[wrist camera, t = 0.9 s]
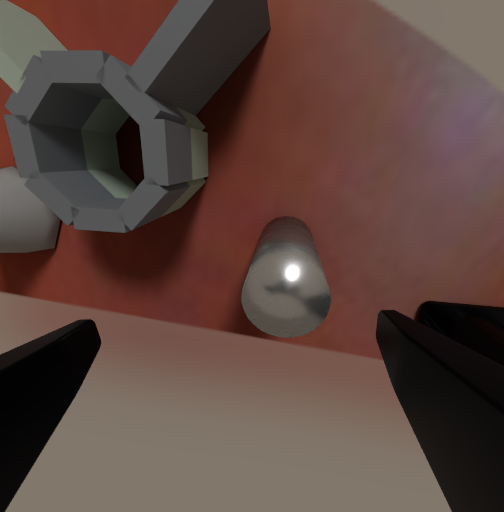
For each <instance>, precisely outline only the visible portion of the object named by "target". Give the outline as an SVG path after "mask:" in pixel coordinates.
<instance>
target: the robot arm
mask: <svg viewBox="0 0 504 512" xmlns="http://www.w3.org/2000/svg"><path fill="white" fill-rule="evenodd" d="M429 307H432V308H431V309H429V310H428V308H429ZM376 339H377V343H378V346H379V348H380V351H381V354H382V357H383V360H384V363H385V366H386V369H387V371H388V374H389V377H390V380H391V383H392V385H393V388H394V390H395V393H396V395H397V397H398V399H399V402H400V404H401V406H402V408H403V410H404V412H405V414H406V416H407V418H408V420H409V422H410V424H411V427H412V429H413V431H414V433H415V435H416V437H417V439H418V441H419V443H420V446H421V448H422V450H423V452H424V454H425V456H426V458H427V460H428V462H429V465H430V467H431V469H432V471H433V473H434V475H435V477H436V479H437V481H438V483H439V486H440V487H441V490H442V491H443V494H444V496H445V498H446V500H447V502H448V504H449V507H450V509H451V511H452V512H504V308H503V307H492V306H481V305H469V304H458V303H447V302H436V301H427V302H425V303H424V304H423V305H422V308H421V311H420V314H419V318H418V321H415V320H413V319H411V318H409V317H407V316H405V315H403V314H401V313H399V312H397V311H395V310H381V311H380V312H379V313H378V320H377V329H376ZM100 346H101V339H100V336H99V333H98V330H97V327H96V324H95V322H94V321H93V320H91V319H89V320H78V321H75V322H73V323H71V324H68V325H66V326H64V327H62V328H59V329H57V330H55V331H53V332H50V333H48V334H46V335H44V336H41V337H39V338H37V339H35V340H32V341H30V342H28V343H26V344H23V345H21V346H19V347H17V348H14V349H12V350H10V351H8V352H5V353H3V354H1V355H0V512H5V511H6V509H7V507H8V506H9V504H10V502H11V501H12V499H13V498H14V496H15V494H16V493H17V491H18V489H19V488H20V486H21V484H22V483H23V481H24V480H25V478H26V476H27V475H28V473H29V471H30V470H31V468H32V466H33V465H34V463H35V462H36V460H37V458H38V457H39V455H40V453H41V452H42V450H43V448H44V447H45V445H46V443H47V442H48V440H49V439H50V437H51V435H52V434H53V432H54V430H55V429H56V427H57V426H58V424H59V422H60V421H61V419H62V417H63V415H64V414H65V412H66V411H67V409H68V407H69V406H70V404H71V403H72V401H73V399H74V398H75V396H76V394H77V392H78V391H79V389H80V387H81V385H82V383H83V381H84V379H85V377H86V375H87V373H88V371H89V369H90V367H91V365H92V363H93V361H94V359H95V357H96V355H97V353H98V351H99V349H100Z"/></svg>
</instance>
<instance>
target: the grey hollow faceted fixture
mask: <svg viewBox="0 0 504 512" xmlns="http://www.w3.org/2000/svg"><path fill="white" fill-rule="evenodd" d="M270 29H271V27H270V19H269V12H268V4H267V0H179V1H178V2H177V4H176V5H175V7H174V8H173V9H172V11H171V12H170V14H169V15H168V16H167V18H166V19H165V21H164V22H163V24H162V25H161V26H160V28H159V29H158V31H157V32H156V33H155V35H154V36H153V38H152V39H151V41H150V42H149V43H148V45H147V46H146V48H145V49H144V50H143V52H142V53H141V55H140V56H139V58H138V59H137V60H136V62H135V63H134V65H133V66H132V67H131V66H129V65H127V64H126V63H124V62H122V61H120V60H119V59H117V58H115V57H114V56H112V55H109V54H107V53H105V52H104V51H40V53H41V57H38V56H36V55H33V56H32V58H31V60H30V62H29V63H28V65H27V67H26V69H25V71H24V73H25V75H26V76H25V78H26V79H25V81H24V82H23V84H22V86H21V88H20V90H19V91H18V93H16V92H15V91H14V90H13V92H12V94H11V96H10V98H9V99H8V101H7V103H6V105H5V107H6V108H7V109H8V110H9V111H10V112H11V113H12V114H13V115H4V117H5V121H6V125H7V129H8V133H9V137H10V141H11V145H12V149H13V153H14V157H15V161H16V165H17V169H18V173H19V177H20V178H28V180H27V181H26V183H25V184H24V185H25V186H26V187H27V188H28V189H29V190H30V191H31V192H32V193H33V194H34V195H35V196H36V197H38V198H39V199H40V200H41V201H42V202H43V203H44V204H45V205H46V206H47V207H48V208H49V209H50V210H51V211H53V212H54V213H55V214H56V215H57V216H58V217H59V218H60V219H61V220H62V221H63V222H64V223H65V224H67V225H68V226H70V225H73V224H74V228H75V229H79V230H93V231H106V232H120V233H127V232H129V231H132V230H134V229H136V228H138V227H141V226H143V225H145V224H147V223H149V222H151V221H154V220H156V219H158V218H160V217H161V216H162V215H163V214H164V213H165V212H166V211H167V210H168V209H169V208H170V207H171V206H172V205H173V204H174V203H175V202H176V201H177V200H178V199H179V198H180V196H181V195H182V194H183V193H184V192H185V191H186V190H187V189H188V188H189V187H190V185H189V184H188V183H187V181H191V180H192V153H191V127H188V126H185V125H184V124H185V123H186V122H187V121H188V120H187V119H186V118H185V117H184V116H183V114H182V113H181V112H180V111H179V110H178V109H177V108H179V109H182V110H184V111H186V112H188V113H190V114H193V115H195V116H196V115H197V114H198V113H199V111H200V110H201V109H202V108H203V107H204V106H205V104H206V103H207V102H208V101H209V100H210V99H211V97H212V96H213V95H214V94H215V93H216V92H217V90H218V89H219V88H220V87H221V86H222V85H223V83H224V82H225V81H226V80H227V79H228V78H229V76H230V75H231V74H232V73H233V72H234V71H235V69H236V68H237V67H238V66H239V65H240V64H241V62H242V61H243V60H244V59H245V58H246V57H247V55H248V54H249V53H250V52H251V51H252V50H253V48H254V47H255V46H256V45H257V44H258V43H259V41H260V40H261V39H262V38H263V37H264V36H265V34H266V33H267V32H268V31H269V30H270ZM24 73H23V74H22V75H24ZM23 77H24V76H23ZM21 79H22V80H23V78H22V76H21ZM102 99H115V100H116V101H117V102H118V103H119V104H120V105H121V106H122V107H123V108H124V109H125V110H126V112H127V113H128V114H129V115H130V116H131V117H132V118H133V119H134V120H135V121H136V122H137V123H138V124H139V126H140V136H141V147H142V157H143V167H144V180H143V181H142V182H141V183H140V184H139V185H138V186H137V188H136V189H135V190H134V191H133V192H132V193H131V195H130V196H129V197H128V198H127V199H125V198H115V197H114V196H113V195H112V194H111V193H110V192H109V191H108V190H107V189H106V188H105V187H104V186H103V185H102V184H101V183H100V182H99V181H98V180H97V179H96V178H95V177H94V176H93V175H92V174H91V173H90V172H89V171H88V170H87V164H86V158H85V152H84V146H83V140H82V134H81V128H82V127H83V125H84V124H85V123H86V121H87V120H88V118H89V117H90V115H91V114H92V113H93V111H94V110H95V108H96V107H97V105H98V104H99V102H100V101H101V100H102ZM176 107H177V108H176Z"/></svg>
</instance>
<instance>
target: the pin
mask: <svg viewBox="0 0 504 512" xmlns="http://www.w3.org/2000/svg"><path fill="white" fill-rule="evenodd" d="M241 300H242V306H243V309H244V312H245V314H246V316H247V317H248V319H249V320H250V321H251V322H252V323H253V324H254V325H255V326H256V327H257V328H259V329H260V330H262V331H263V332H265V333H268V334H270V335H273V336H277V337H287V338H288V337H297V336H301V335H304V334H307V333H309V332H311V331H312V330H314V329H315V328H317V327H318V326H319V325H320V324H321V323H322V322H323V320H324V319H325V317H326V316H327V314H328V311H329V308H330V302H331V297H330V291H329V287H328V284H327V281H326V277H325V274H324V271H323V268H322V265H321V262H320V258H319V255H318V252H317V249H316V246H315V243H314V240H313V236H312V233H311V231H310V229H309V227H308V226H307V225H306V224H305V223H304V222H303V221H301V220H299V219H297V218H295V217H290V216H284V217H279V218H276V219H274V220H272V221H271V222H269V223H268V224H267V225H266V226H265V228H264V229H263V231H262V233H261V236H260V239H259V242H258V245H257V248H256V251H255V253H254V256H253V259H252V262H251V265H250V268H249V271H248V274H247V276H246V279H245V282H244V285H243V289H242V294H241Z"/></svg>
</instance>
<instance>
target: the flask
mask: <svg viewBox="0 0 504 512" xmlns="http://www.w3.org/2000/svg"><path fill="white" fill-rule="evenodd" d="M27 180H28V178H20V177H19V173H18V169H16V168H14V167H12V166H11V167H7V168H3V169H0V253H28V252H34V251H40V250H47V249H53V248H55V243H56V239H57V234H58V229H59V225H60V220H61V219H60V218H59V217H58V216H57V215H56V214H55V213H54V212H53V211H51V210H50V209H49V208H48V207H47V206H46V205H45V204H44V203H43V202H42V201H41V200H40V199H39V198H38V197H36V196H35V195H34V194H33V193H32V192H31V191H30V190H29V189H28V188H27V187H26V186H25V185H24V184H25V183H26V181H27Z"/></svg>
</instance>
